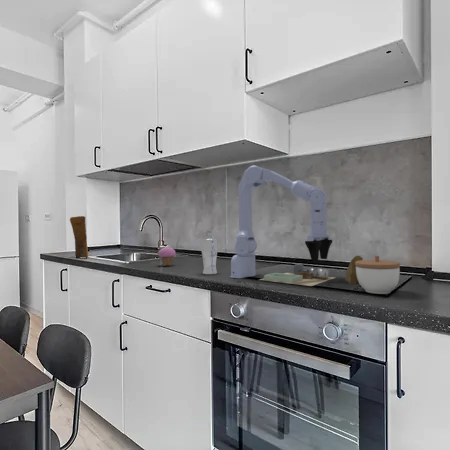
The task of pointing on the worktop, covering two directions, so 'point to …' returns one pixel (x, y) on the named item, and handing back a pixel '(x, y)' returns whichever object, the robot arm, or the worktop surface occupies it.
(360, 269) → the lidded bowl
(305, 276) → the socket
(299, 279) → the tray
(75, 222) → the pancake mix bag
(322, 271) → the grey cylinder
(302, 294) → the worktop surface
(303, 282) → the board
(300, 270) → the grey stepped block
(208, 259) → the beer glass
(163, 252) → the cupcake
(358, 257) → the rock
